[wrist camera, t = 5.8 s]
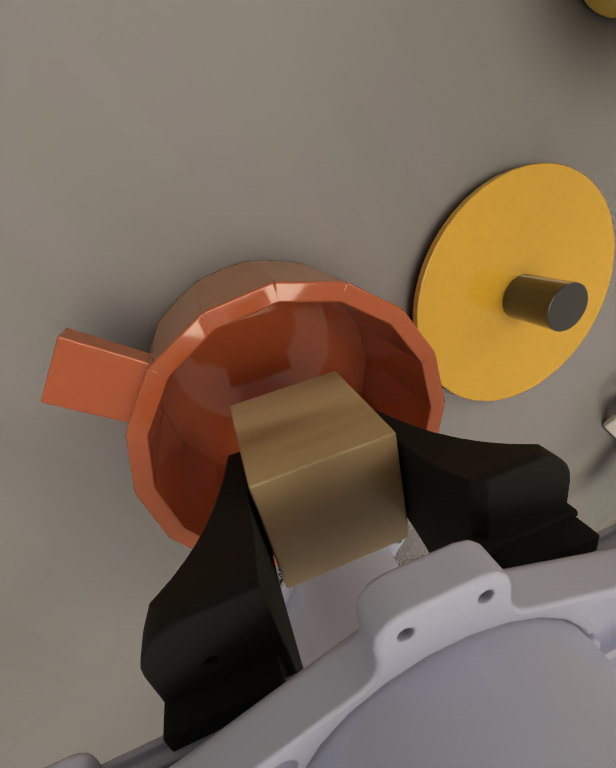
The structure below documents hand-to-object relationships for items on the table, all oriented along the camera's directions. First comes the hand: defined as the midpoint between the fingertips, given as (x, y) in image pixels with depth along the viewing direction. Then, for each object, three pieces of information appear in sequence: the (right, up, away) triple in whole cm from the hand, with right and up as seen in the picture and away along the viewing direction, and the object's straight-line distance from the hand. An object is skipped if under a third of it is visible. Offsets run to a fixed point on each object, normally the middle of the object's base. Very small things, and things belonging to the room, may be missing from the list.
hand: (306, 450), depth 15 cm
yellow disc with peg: (+13, +8, +8) cm, 17 cm away
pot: (-2, +3, +6) cm, 7 cm away
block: (0, +1, +1) cm, 1 cm away
